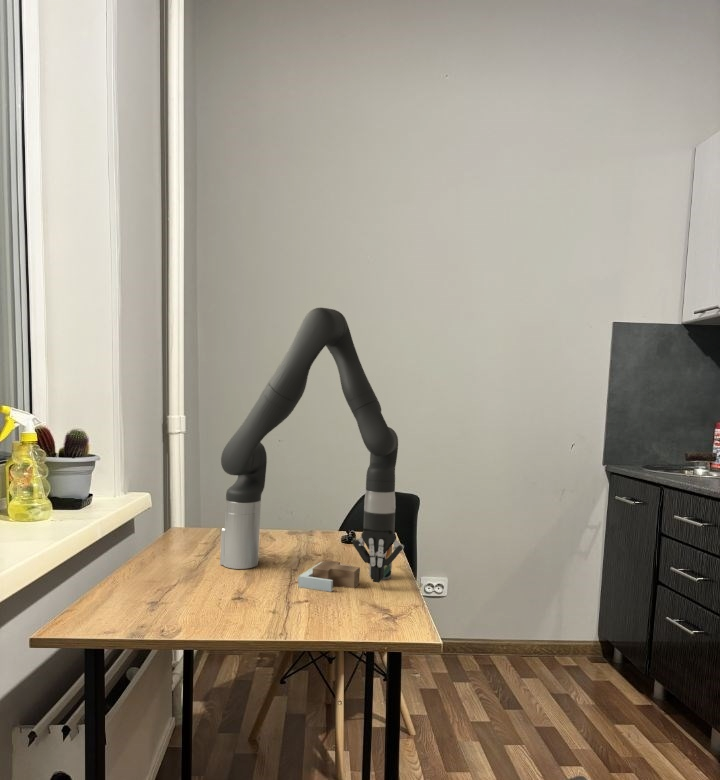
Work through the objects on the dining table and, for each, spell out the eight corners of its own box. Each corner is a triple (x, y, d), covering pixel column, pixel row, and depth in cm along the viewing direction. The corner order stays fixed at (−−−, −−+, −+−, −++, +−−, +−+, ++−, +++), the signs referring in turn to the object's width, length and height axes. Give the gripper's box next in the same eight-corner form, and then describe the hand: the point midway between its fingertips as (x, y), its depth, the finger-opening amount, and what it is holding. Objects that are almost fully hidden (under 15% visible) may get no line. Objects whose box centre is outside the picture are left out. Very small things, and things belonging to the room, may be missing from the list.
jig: (297, 586, 138) (298, 576, 138) (320, 571, 151) (321, 561, 151) (330, 591, 135) (331, 581, 135) (351, 575, 148) (351, 565, 149)
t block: (312, 585, 140) (312, 568, 140) (324, 576, 148) (325, 560, 148) (350, 590, 137) (351, 573, 137) (361, 581, 144) (362, 565, 144)
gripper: (348, 509, 138) (345, 582, 138) (402, 514, 134) (399, 589, 133) (358, 504, 145) (356, 573, 145) (410, 509, 141) (407, 580, 140)
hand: (377, 581), depth 139 cm, fingers closed
